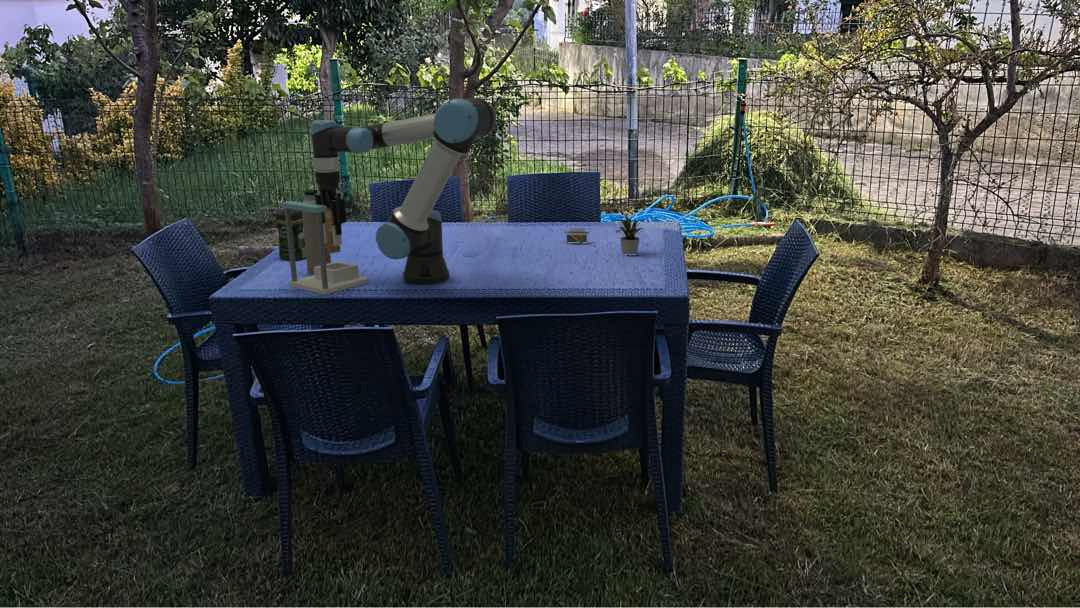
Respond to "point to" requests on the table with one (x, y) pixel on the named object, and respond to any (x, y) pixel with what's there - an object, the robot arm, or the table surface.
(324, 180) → the robot arm
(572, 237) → the platform
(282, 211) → the coffee jar
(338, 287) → the cream tall frame
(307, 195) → the thermos bottle
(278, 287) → the table surface
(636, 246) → the house plant
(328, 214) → the oak peg
